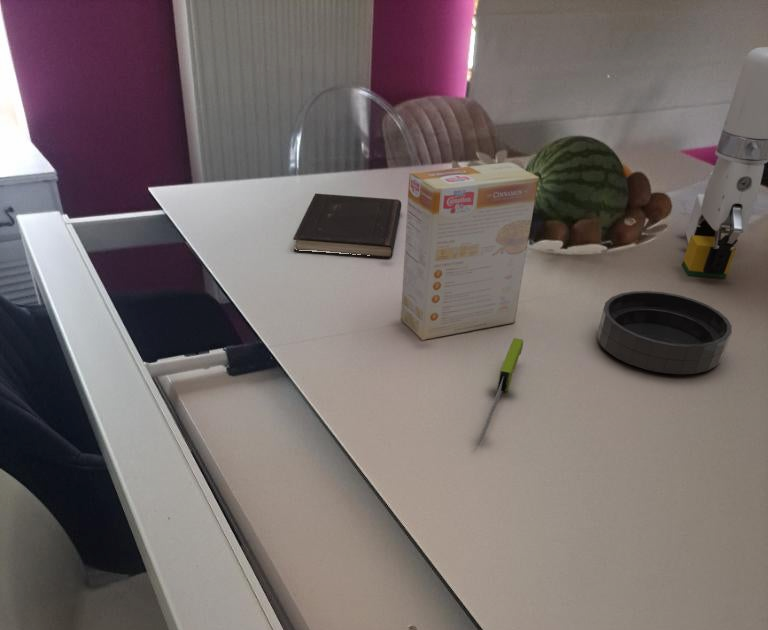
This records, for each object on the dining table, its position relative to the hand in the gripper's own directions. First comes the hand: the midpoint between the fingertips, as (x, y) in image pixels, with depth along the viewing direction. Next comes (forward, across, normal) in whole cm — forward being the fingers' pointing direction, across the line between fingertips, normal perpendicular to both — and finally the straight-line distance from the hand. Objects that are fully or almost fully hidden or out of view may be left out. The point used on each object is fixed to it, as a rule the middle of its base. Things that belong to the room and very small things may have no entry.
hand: (706, 261), depth 120 cm
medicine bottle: (+2, +14, -4) cm, 15 cm away
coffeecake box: (+2, -26, +40) cm, 48 cm away
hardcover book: (+2, +6, +59) cm, 59 cm away
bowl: (+2, -29, +13) cm, 32 cm away
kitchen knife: (+2, -47, +35) cm, 59 cm away
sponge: (+2, 0, 0) cm, 2 cm away
